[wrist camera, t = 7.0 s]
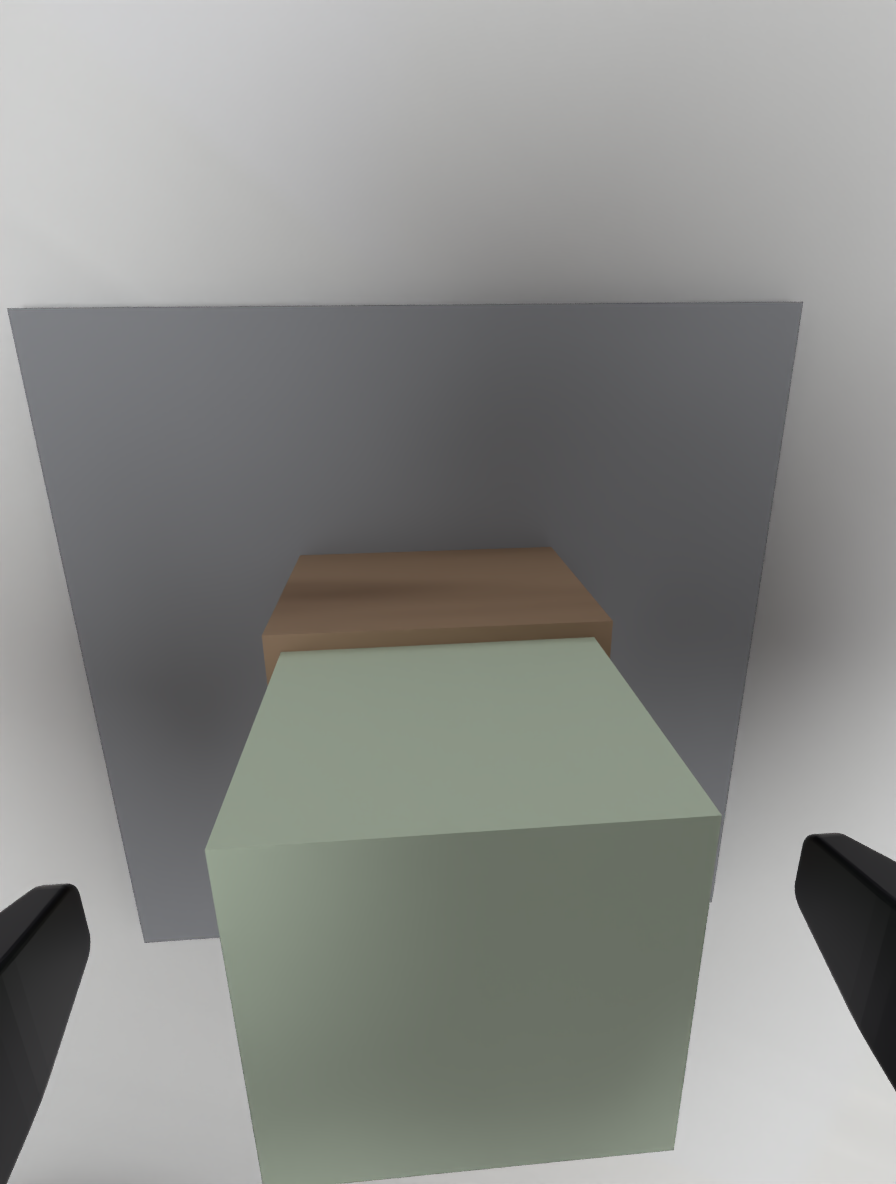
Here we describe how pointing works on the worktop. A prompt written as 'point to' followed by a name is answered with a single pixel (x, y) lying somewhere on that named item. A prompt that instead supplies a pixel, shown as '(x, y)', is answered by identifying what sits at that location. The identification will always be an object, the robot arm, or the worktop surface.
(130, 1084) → the worktop surface
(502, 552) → the walnut block
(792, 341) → the slate mat
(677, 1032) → the sage block
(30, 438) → the worktop surface
